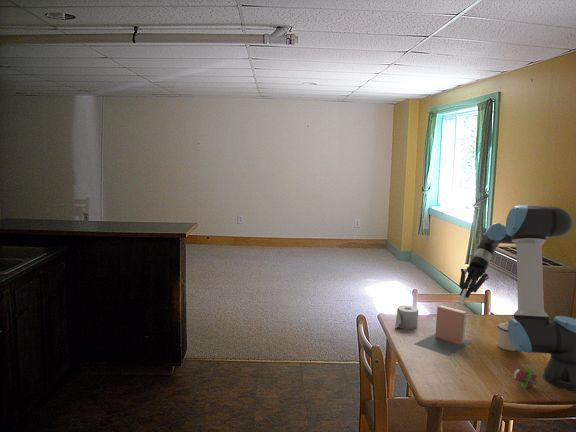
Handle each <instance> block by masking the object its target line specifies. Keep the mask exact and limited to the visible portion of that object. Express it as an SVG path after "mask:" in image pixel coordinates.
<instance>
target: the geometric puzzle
mask: <svg viewBox="0 0 576 432" xmlns="http://www.w3.org/2000/svg"><path fill="white" fill-rule="evenodd" d="M513 378H514V380H515V381H516V382H518V384H519V385H520V386H521V387H522V388H523V389H524V390H526V389H528V388H531V387H534V386H535V385H536V381H537V378H538V375H536V374H535V372H534V371H533V370H531V369H530V368H529V367H528V366H527V367H525V369H522V368H520V369H516V370H515V371H514V373H513ZM537 382H538V381H537ZM527 386H528V387H527Z"/></svg>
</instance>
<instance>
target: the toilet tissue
mask: <svg viewBox="0 0 576 432" xmlns="http://www.w3.org/2000/svg"><path fill="white" fill-rule="evenodd" d="M396 309H397V311H396V318H395V324H394V328H395V327H396V329H398V328H399V327H401V328H400V329H402V328H403V329H402V330H406V329H407V330H408V329H409V330H412V329H417V327H418V321H419V309H418V308H417V307H416V306H412V305H404V304H403V305H399V306H398V307H397V308H396ZM398 326H399V327H398Z"/></svg>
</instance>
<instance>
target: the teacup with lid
mask: <svg viewBox="0 0 576 432" xmlns="http://www.w3.org/2000/svg"><path fill="white" fill-rule="evenodd" d="M509 320H510V319H509ZM509 320H507V321H506V322H501V323H499V324H498V325H497V339H496V340H497V341H496V346H497V348H498V347H499V348H501V349H503V350H505V351H511V352H513V351H514V352H515V351H517V350H516V349H515V348H514V347H513V346H512V343H511V341H510V338H509V334H508V322H509Z"/></svg>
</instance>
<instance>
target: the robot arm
mask: <svg viewBox="0 0 576 432" xmlns="http://www.w3.org/2000/svg"><path fill="white" fill-rule="evenodd" d="M573 226H574V219H573V217H572V215H571V214H570V213H569V212H568V211H567V210H565V209H564V208H561V207H559V206H555V205H554V206H553V205H551V206H550V205H549V206H548V205H528V204H523V205H514V206H513V207H512V208H510V210H509V211H508V213H507V217H506V220H505V225H504V224H502V223H501V222H495V223H492V224H491V225H490V226H489V227H488V228H487V230H486V231H485V232H484V234H483V235H482V237H481V239H480V241H479V243H478V245H477V248H476V250H475V251H474V254H473V255H472V258H471V260H470V262H469V265H468V266H467V267H466V268H461V269H460V271H461V274H460V279H459V288H460V290H461V291H460V293H459V295H460V297H459V298H458V302H459V304H461V305H465V302H466V301H467V299H469V298H470V295H471V294H472V293H477V292H478V290H479V289H480V288H481V286H482V285H483V284H484V283H485V281H488V279H490V277H489V275H488V273H486V271H487V269H488V266H489V264H490V262H491V259H492V258H493V255H494V253H495V251H496V249H497V247H498V246H499V245H500V244H505V245H506V244H507V245H515V246H516V249H515V250H516V278H517V279H516V283H517V284H516V285H517V286H516V287H517V288H516V289H517V290H516V291H517V310H516V311H515V312H514V313H513V318H511V319H509V322H508V334H509V338H510V341H511V343H512V346H513V347H514V348H515V349H516V351H518V352H521V353H528V354H531V353H534V354H550V357H549V360H548V362H547V364H546V366H545V368H544V370H543V374H542V375H543V378H544V380H545V381H546V382H548V383H550V384H551V385H553V386H555V385H556V386H555V387H558V388H561V387H562V388H561V389H564V388H566V389H565V390H569V389H570V390H569V391H576V318H574V317H569V316H566V315H565V316H564V315H556V316H554V318H553V320H550V316H549V314H547V313H546V311H545V309H544V308H545V307H544V306H545V305H544V304H545V302H544V278H543V277H544V275H543V271H544V270H543V247H542V246H543V245H544V244H545V243H546V242H547V239H549V238H562V237H564V236H566V235H568V234H569V233H570V232H572V229H573ZM466 275H467V277H466Z"/></svg>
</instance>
